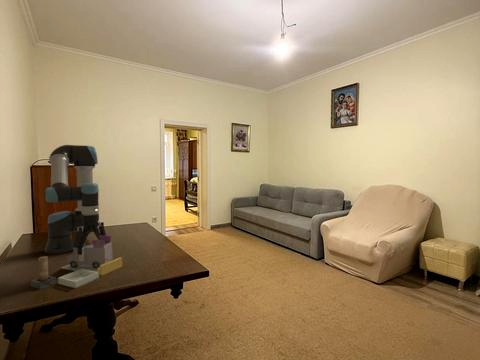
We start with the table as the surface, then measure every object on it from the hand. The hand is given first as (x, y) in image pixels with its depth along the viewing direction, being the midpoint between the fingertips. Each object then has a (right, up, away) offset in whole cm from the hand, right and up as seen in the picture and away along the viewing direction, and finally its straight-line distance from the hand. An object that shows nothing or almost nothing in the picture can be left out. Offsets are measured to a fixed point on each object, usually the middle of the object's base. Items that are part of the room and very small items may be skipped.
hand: (91, 257), depth 132 cm
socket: (-9, -6, -20) cm, 23 cm away
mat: (0, -5, 0) cm, 5 cm away
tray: (+4, -6, -17) cm, 18 cm away
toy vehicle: (0, -4, 0) cm, 4 cm away
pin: (-9, -6, -20) cm, 23 cm away
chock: (+12, -5, -5) cm, 14 cm away
